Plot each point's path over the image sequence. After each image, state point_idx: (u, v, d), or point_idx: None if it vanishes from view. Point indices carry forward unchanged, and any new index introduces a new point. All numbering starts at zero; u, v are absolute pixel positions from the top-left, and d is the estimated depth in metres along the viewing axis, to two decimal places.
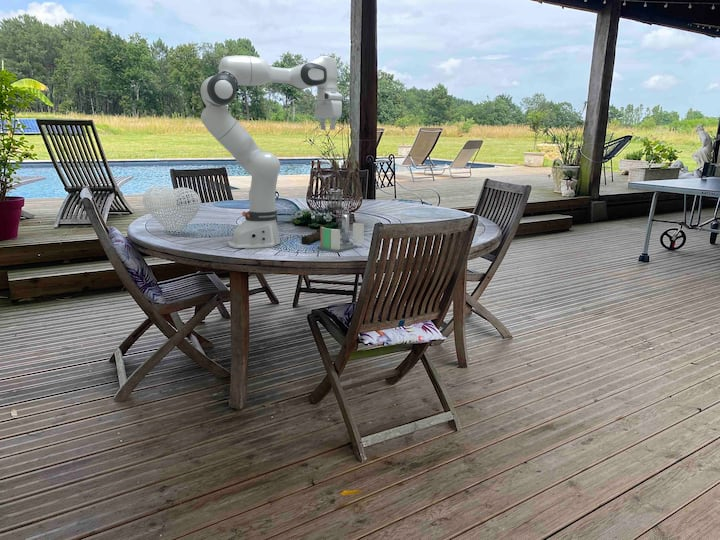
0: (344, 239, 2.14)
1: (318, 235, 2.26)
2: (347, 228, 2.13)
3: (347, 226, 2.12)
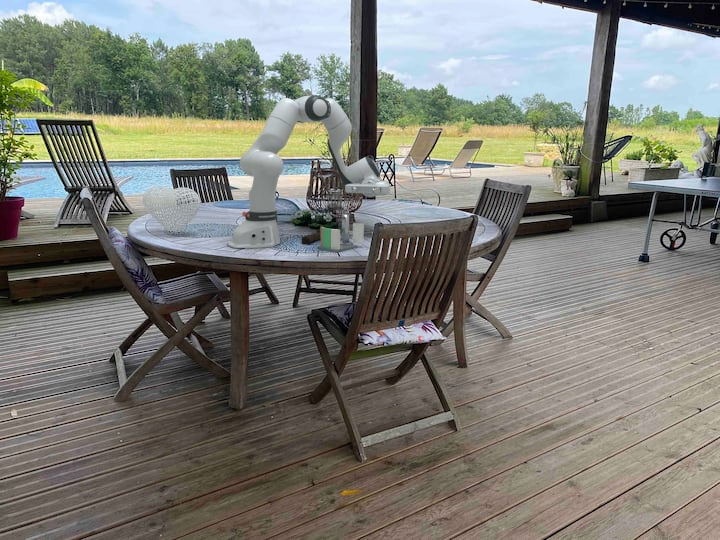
0: (344, 239, 2.14)
1: (318, 235, 2.26)
2: (347, 228, 2.13)
3: (347, 226, 2.12)
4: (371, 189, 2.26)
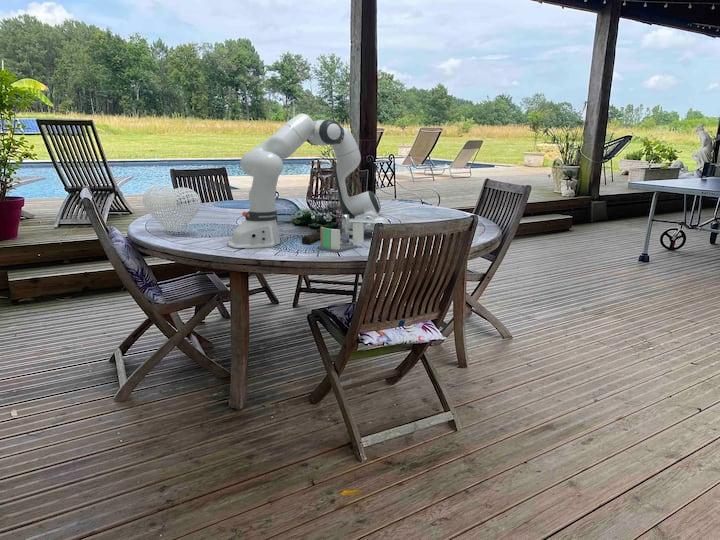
0: (344, 239, 2.14)
1: (318, 235, 2.26)
2: (347, 228, 2.13)
3: (347, 226, 2.12)
4: None
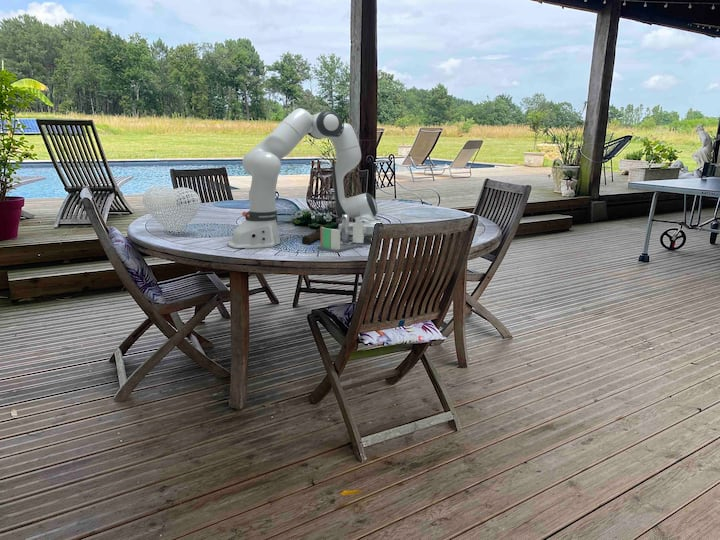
0: (344, 239, 2.14)
1: (317, 235, 2.26)
2: (347, 228, 2.13)
3: (347, 226, 2.12)
4: None
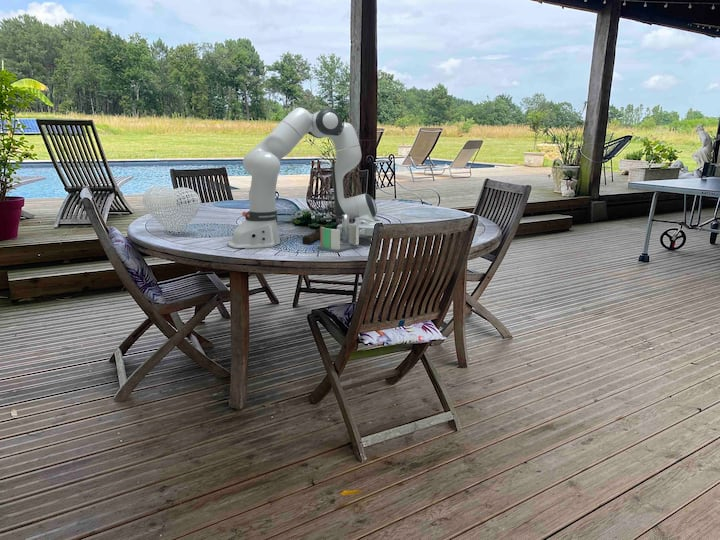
0: (342, 239, 2.14)
1: (317, 235, 2.26)
2: (345, 228, 2.12)
3: (345, 226, 2.12)
4: None
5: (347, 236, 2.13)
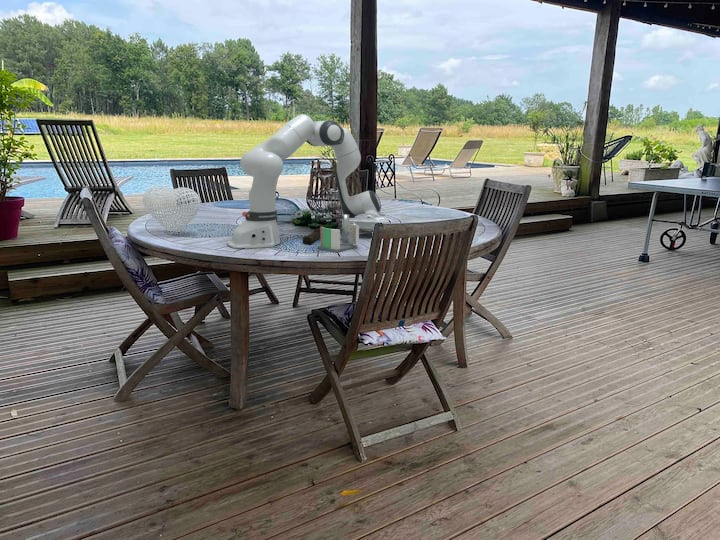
0: (342, 239, 2.14)
1: (317, 235, 2.27)
2: (345, 228, 2.12)
3: (345, 226, 2.12)
4: (370, 224, 2.30)
5: (347, 236, 2.13)
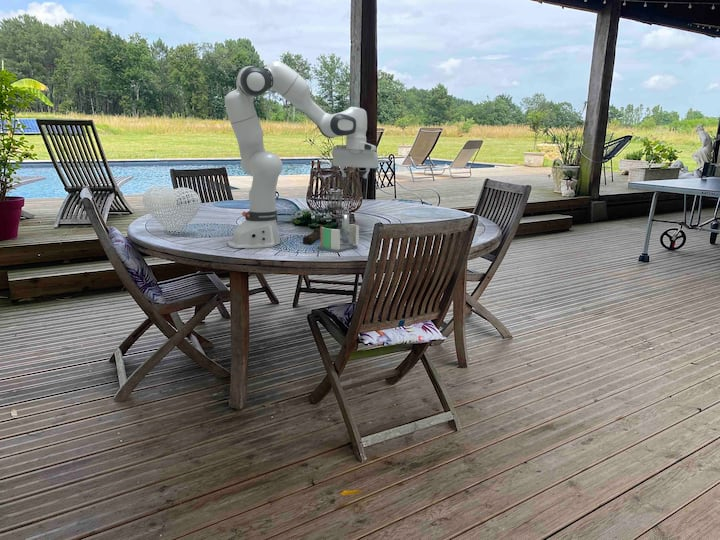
0: (342, 239, 2.14)
1: (316, 235, 2.27)
2: (345, 228, 2.12)
3: (345, 226, 2.12)
4: None
5: (347, 236, 2.13)
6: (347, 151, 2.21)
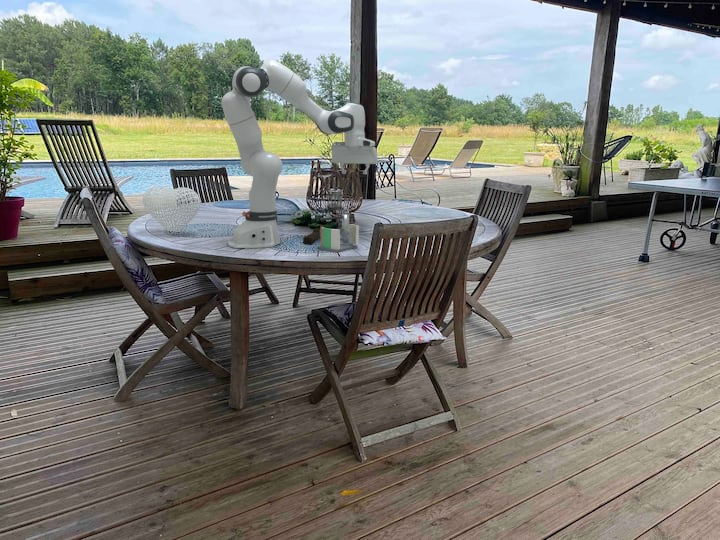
0: (342, 239, 2.14)
1: (316, 235, 2.27)
2: (345, 228, 2.12)
3: (345, 226, 2.12)
4: None
5: (347, 236, 2.13)
6: (346, 148, 2.20)
